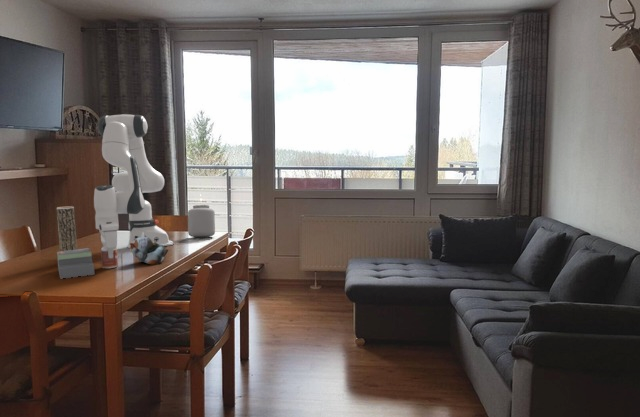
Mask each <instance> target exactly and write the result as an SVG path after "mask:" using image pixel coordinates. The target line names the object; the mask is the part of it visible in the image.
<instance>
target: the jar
mask: <svg viewBox="0 0 640 417" xmlns="http://www.w3.org/2000/svg"><path fill="white" fill-rule="evenodd" d="M199 196H200V197H202V194H199ZM199 200H200V202H202V201H203V199H199ZM215 215H216V214H215V210H214V209H213V208H211V207H210V205H208V204H195V205H193V206H192V208H190V209H189V210H188V211H187V229H188V230H187V234H188V236H190V237H192V238H207V237H213V236H214V235H215V234H216V226H215V225H216V223H215V222H216V218H215Z"/></svg>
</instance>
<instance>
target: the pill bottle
mask: <svg viewBox="0 0 640 417" xmlns="http://www.w3.org/2000/svg"><path fill="white" fill-rule="evenodd" d="M101 243H102V244H101V245H102V247H101V248H100V253H101V254H100V255H101V256H100V257H101V266H102V268H103V269H114V268H117V267H118V266H119V259H118V247H117V248H116V249H114V251H113V258H109V257H108V249H107V248H106V247H105V245H104V242H101Z"/></svg>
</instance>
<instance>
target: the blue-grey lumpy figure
mask: <svg viewBox="0 0 640 417" xmlns="http://www.w3.org/2000/svg"><path fill="white" fill-rule="evenodd" d="M129 250H130V251H131V252H132V256H134V257H135V258H136V259H137V260H138V261H139V263H142V262H143V263H146V264H148V265H150V266H153V265H159V264H160V263H162V262H163V261H164V260H165V258H166V255H168V254H167V253H168V252H169V249H168V248H166V246H163V245H162V244H159V243H156V242H154V243H153V242H152V241H151V239H150V238H148V237H146V236H145V235H144V236H143V237H138V236H135V239H134V243H130V248H129Z"/></svg>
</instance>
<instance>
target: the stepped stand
mask: <svg viewBox="0 0 640 417" xmlns="http://www.w3.org/2000/svg"><path fill="white" fill-rule="evenodd" d="M56 255H57V256H56V258H57V259H56V260H57V269H58V270H57V271H58V275H59V278H60V280H64V279H63V278H66V279H71V277H73V278H79V277H78V276H81V277H86V276H87V275H88V276H93V275H95V274H96V273H95V264H94V262H93V258H92V255H93V254H92V251H91V249H90V248H89V247H86V248H77V249H76V250H67V251H60V250H59V251H56ZM88 276H87V277H88Z"/></svg>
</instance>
